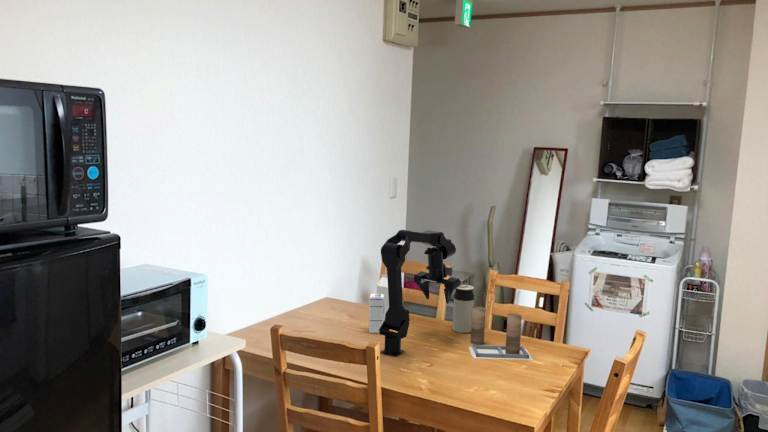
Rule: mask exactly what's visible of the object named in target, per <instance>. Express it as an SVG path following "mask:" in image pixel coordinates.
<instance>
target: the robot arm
mask: <svg viewBox="0 0 768 432" xmlns="http://www.w3.org/2000/svg"><path fill="white" fill-rule="evenodd" d="M444 234H445V233H444V232H443V231H436V230H429V229H428V230H424V231H422V232H421V231H413V230H407V229H400V230H399V229H398V231H397V232H396V234H394V235H393V236H391V237H389V238H388V239H387V240H386V241H385V242H384V244H383V245H382V246H381V248H380V257H381V261H382V263H383V265H384V266H385V268H386V275H387V279H388V296H389V308H388V310H387V312H386V314H385V320H384V322H383V324H382V325H381V327H380V329H379V332H380V333H379V335H381V336H384V347H383V350H381V351H380V354H383V355H388V356H392V357H398V356H400V355H402V354H403V353H405V350H404V349H402V339H405V338H407V336H408V332H409V327H410V321H411V319H410V311H409V309H405V307H404V299H403V280H402V279H403V278H402V267H403V266H404V263H405V261H406V255H408V253H409V251H410V249H411V243H413V242H414V243H422V244H423V245H425V246H429V247H427V249H426V250H425V251H424V254H425V255H427V266H426V270H428V272H427V271H418V272H416V273H415V274H414V275H413V277H412V280H413V281H412V282H413V283H416V285H417V286H418V287H419V289H420V291H421V292H422V293H423V295H424V297H425V298H426V300H429V299H430V282H431V283H437V284H440V285H441V284H442V285H443V286H444V288H443V292H444V299H445V302H446V304H447V305H448V304H449V303H450V301H451V297H452V294H453V291H454V290H456V288H457V287H459V286H461V285H462V280H461V279H460V278H457V277H453V276H452V275H453V267H448V266H446V263H444V260H446V259H448V258H451V257H452V256H453V255H456V251H457V248H456V246H455V244H454V243H453V242H452V239H448V238H447V237H446V236H445V235H444ZM401 242H404V243H403V244H400V243H401ZM448 276H450V277H449V278H448V279H446V278H447V277H448Z"/></svg>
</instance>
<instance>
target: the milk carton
mask: <svg viewBox="0 0 768 432" xmlns="http://www.w3.org/2000/svg"><path fill="white" fill-rule="evenodd" d="M375 294H384V320H385V314H386V312H387V310H388V308H389V296H388V279H387V274H381V277H380V279H379V281H378V282H377V284H376V293H375Z"/></svg>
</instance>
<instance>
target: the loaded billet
mask: <svg viewBox="0 0 768 432" xmlns="http://www.w3.org/2000/svg"><path fill="white" fill-rule="evenodd" d="M506 318H507V319H506V320H507V321H506V331H505V333H506V336H505V337H506V338H505V346H506V350H505V353H506V354H520V346H521V338H522V337H521V335H522V319H523V316H522V315H521V314H519V313H508V314H507V317H506Z"/></svg>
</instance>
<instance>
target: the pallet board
mask: <svg viewBox="0 0 768 432" xmlns="http://www.w3.org/2000/svg"><path fill="white" fill-rule="evenodd" d="M468 349H469V352H470V354H471V356H472V359H486V360H518V361H519V360H520V361H521V360H522V361H523V360H524V361H534V359H533V357H532V356H531V354H530V353H529V351H528V350H527V348H525V347H524V346H521V345H520V354H506V353H505V350H506V345H491V344H489V345H488V344H487V345H486V344H485V345H483V344H481V345H476V344H472V346H468Z"/></svg>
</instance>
